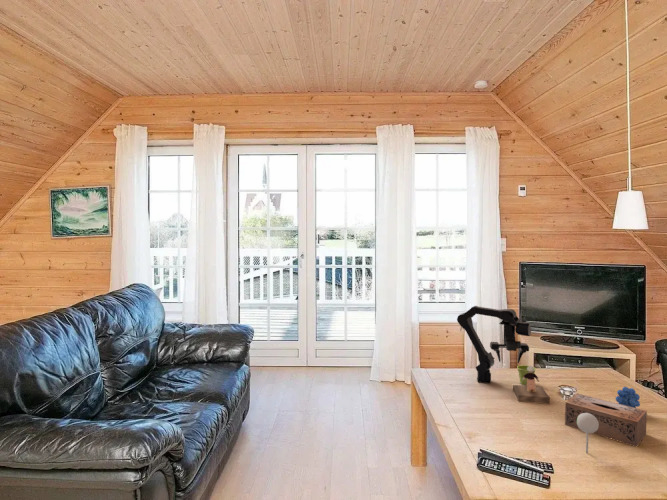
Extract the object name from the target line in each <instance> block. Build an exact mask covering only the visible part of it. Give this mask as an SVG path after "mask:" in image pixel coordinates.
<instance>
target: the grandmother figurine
mask: <svg viewBox="0 0 667 500" xmlns="http://www.w3.org/2000/svg"><path fill="white" fill-rule="evenodd" d="M527 366H528V367H527V370H528V372H529V373H527V374H525V375H524V377H523V379H522V380H525V378H527V385H526V386H527V391H528V392H531V390H532V392H536V390H535V386H536V382H537V383H539V382H540V380H539V377H538V376H537V374H536V373H533V371H534V368H535V367H534V366H533V365H527ZM535 380H536V381H535Z"/></svg>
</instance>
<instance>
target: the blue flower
mask: <svg viewBox="0 0 667 500" xmlns="http://www.w3.org/2000/svg"><path fill="white" fill-rule="evenodd" d="M616 393H617V395H616V397H615V401H616V403H617V404H621V405H625V406H629V407H633V408H639V407H640V406H641V403H640V394H638V393H636V390H635V389H634V388H632V387H630V388H629V387H627V386H623V387H622V389H618V390H617V392H616Z"/></svg>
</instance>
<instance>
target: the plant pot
mask: <svg viewBox="0 0 667 500" xmlns="http://www.w3.org/2000/svg"><path fill="white" fill-rule="evenodd" d="M528 366H529V365H525V364H524V365H523V364H522V365H517V366H516V368H517V371H518V377H519V383H520V384H521V385H522V386H527V378H525V380H522V379H523V377H524V375H525V374H527V373H529V372H528V370H527V367H528ZM536 370H537V369H536V367H534V371H533V373H534V374H536Z"/></svg>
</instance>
